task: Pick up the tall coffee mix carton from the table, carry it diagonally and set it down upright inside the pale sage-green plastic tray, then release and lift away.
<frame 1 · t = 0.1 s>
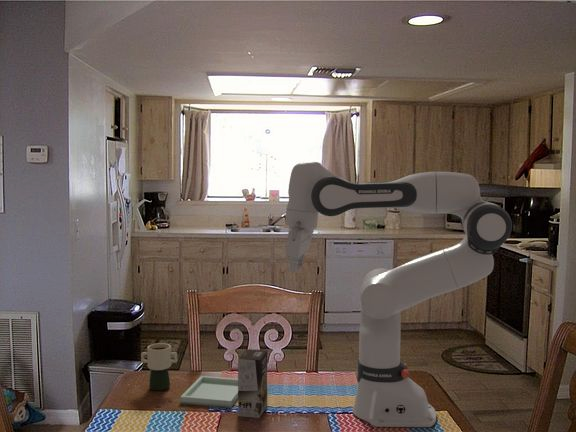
hand: (296, 269, 162), 39 cm above the table, tool pointing down, fingers open, 8 cm apart
character mug: (159, 388, 178), on the table
coffee box: (253, 411, 162), on the table
tray: (215, 394, 173), on the table
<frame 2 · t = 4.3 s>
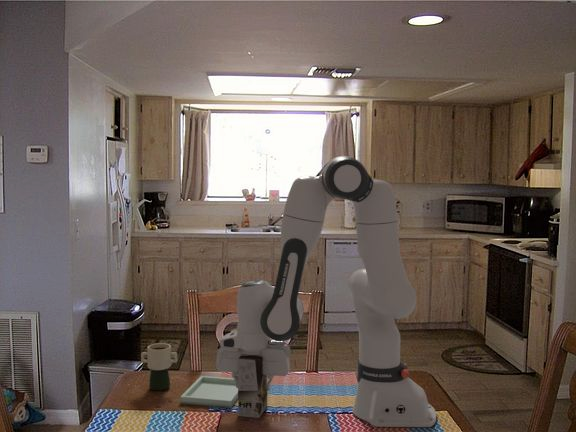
hand: (253, 388, 161), 6 cm above the table, tool pointing down, fingers closed on coffee box, 6 cm apart
coffee box: (253, 411, 162), on the table, touching gripper
everything else where it was.
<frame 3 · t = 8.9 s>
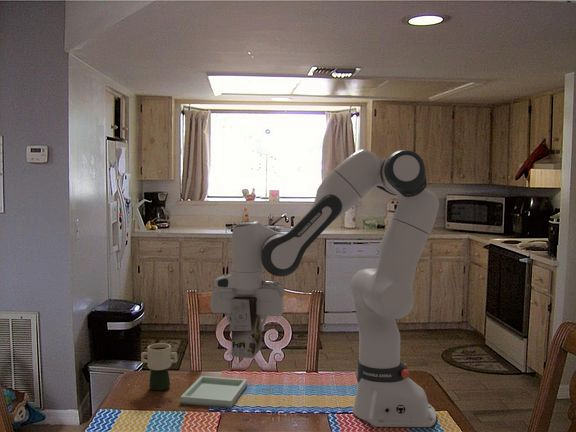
hand: (246, 329, 161), 22 cm above the table, tool pointing down, fingers closed on coffee box, 6 cm apart
coffee box: (246, 353, 162), point 16 cm above the table, touching gripper
everything else where it was.
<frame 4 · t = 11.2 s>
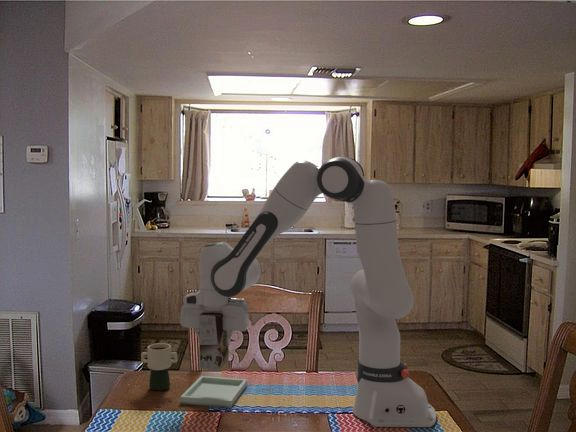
hand: (214, 343, 172), 15 cm above the table, tool pointing down, fingers closed on coffee box, 6 cm apart
coffee box: (214, 365, 172), point 9 cm above the table, touching gripper
everything else where it was.
when the fingers open (8 cm above the table, at t = 13.6 s): coffee box drops 1 cm, resting on tray.
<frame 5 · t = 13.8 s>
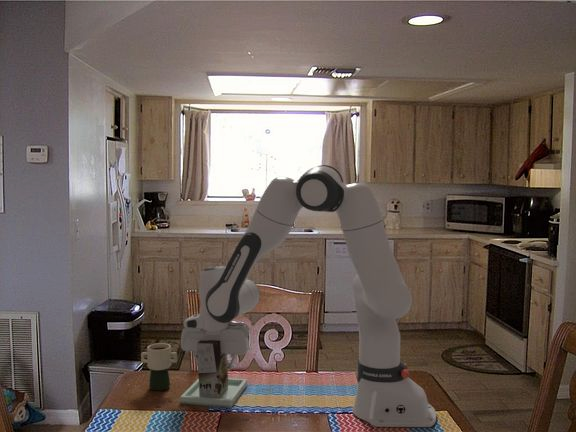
hand: (215, 366, 172), 8 cm above the table, tool pointing down, fingers open, 8 cm apart
coffee box: (214, 392, 173), point 1 cm above the table, touching tray
everything else where it was.
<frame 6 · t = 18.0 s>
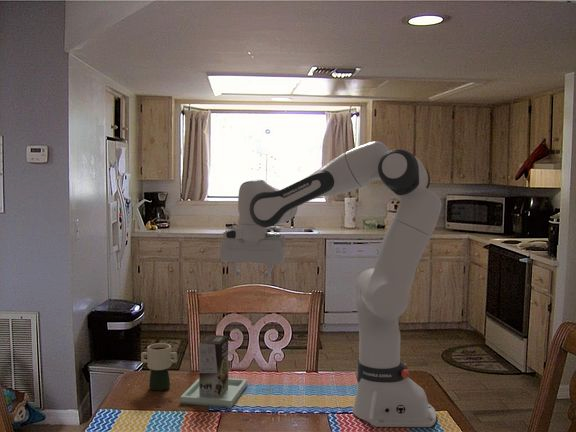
hand: (252, 276, 181), 33 cm above the table, tool pointing down, fingers open, 8 cm apart
nothing on the table moved.
at the end: coffee box inside the target area on the tray (0.3 cm from its centre), point 0.4 cm above the tray's base; coffee box tilted 0°; the gripper is holding nothing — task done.
